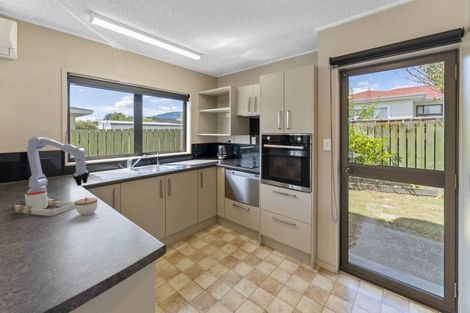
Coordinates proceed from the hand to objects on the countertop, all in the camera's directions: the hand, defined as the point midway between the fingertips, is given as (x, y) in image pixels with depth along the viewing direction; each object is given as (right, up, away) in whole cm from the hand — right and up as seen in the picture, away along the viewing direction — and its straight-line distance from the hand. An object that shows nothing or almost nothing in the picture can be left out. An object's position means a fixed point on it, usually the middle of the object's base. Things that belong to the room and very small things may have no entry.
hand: (82, 184), depth 156 cm
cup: (-12, -13, -21) cm, 28 cm away
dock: (0, -13, -24) cm, 27 cm away
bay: (-14, -12, -21) cm, 28 cm away
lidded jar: (+24, -13, -30) cm, 41 cm away
